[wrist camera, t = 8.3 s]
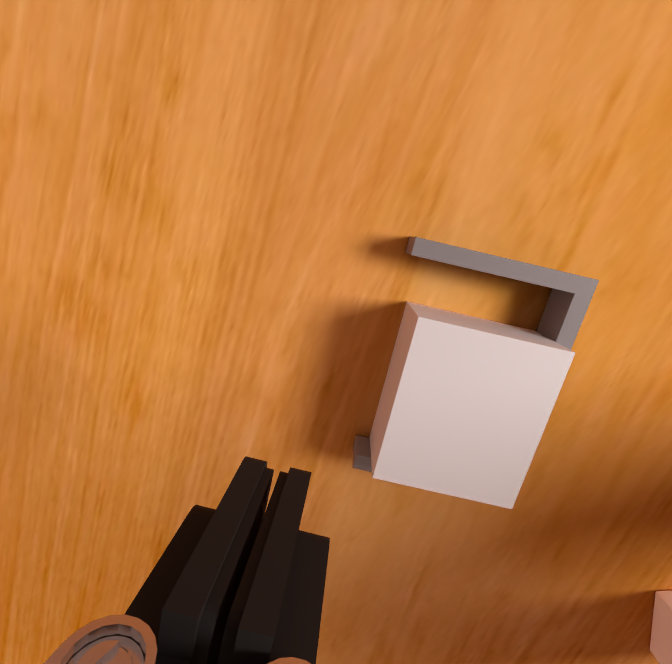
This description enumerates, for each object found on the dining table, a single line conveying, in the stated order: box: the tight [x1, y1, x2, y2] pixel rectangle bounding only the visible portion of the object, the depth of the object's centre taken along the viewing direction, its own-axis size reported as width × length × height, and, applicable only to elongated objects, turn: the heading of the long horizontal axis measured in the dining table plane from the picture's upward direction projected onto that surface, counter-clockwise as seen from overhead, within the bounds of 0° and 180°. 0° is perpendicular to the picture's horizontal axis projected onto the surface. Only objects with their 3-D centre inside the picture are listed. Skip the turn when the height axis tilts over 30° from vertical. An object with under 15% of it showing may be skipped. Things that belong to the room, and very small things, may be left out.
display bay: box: [353, 237, 599, 472], centre depth 25 cm, size 10×15×2 cm
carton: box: [370, 301, 575, 509], centre depth 24 cm, size 8×10×5 cm
